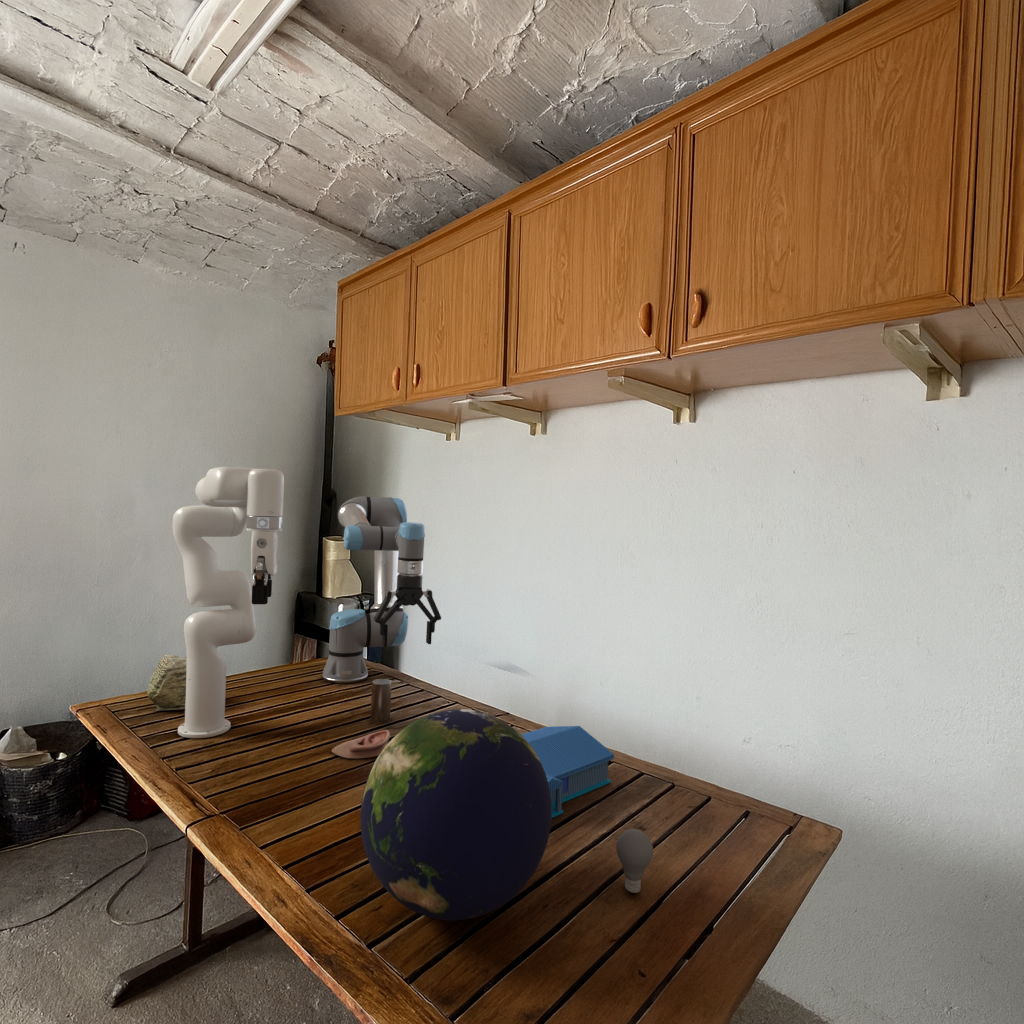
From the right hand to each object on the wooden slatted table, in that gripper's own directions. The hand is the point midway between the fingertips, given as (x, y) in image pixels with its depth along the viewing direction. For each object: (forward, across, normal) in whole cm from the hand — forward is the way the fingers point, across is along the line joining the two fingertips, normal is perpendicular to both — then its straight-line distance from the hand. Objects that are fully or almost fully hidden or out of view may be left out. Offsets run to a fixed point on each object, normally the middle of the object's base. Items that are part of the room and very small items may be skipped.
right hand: (406, 644), depth 190 cm
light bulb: (+18, +11, -100) cm, 102 cm away
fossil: (+20, -60, +22) cm, 67 cm away
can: (+20, -9, -7) cm, 23 cm away
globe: (+18, -18, -92) cm, 95 cm away
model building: (+18, +10, -61) cm, 64 cm away
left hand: (-20, -43, -32) cm, 58 cm away
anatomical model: (+19, -19, -27) cm, 38 cm away
